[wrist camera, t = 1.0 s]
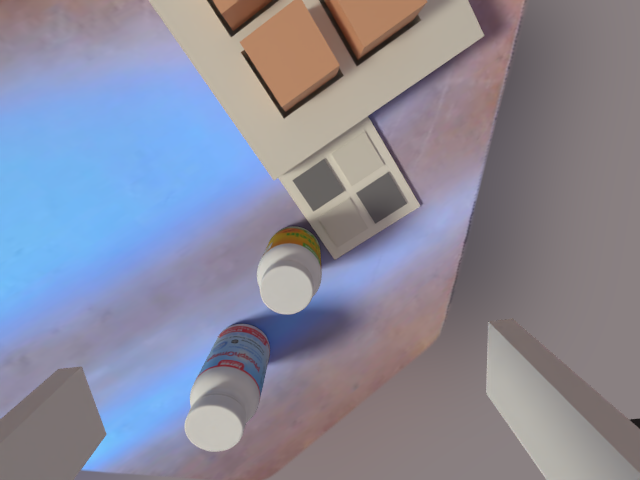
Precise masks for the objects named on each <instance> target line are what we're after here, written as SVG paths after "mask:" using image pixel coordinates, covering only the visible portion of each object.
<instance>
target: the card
mask: <svg viewBox="0 0 640 480" xmlns="http://www.w3.org/2000/svg"><path fill="white" fill-rule="evenodd" d="M278 178H279V180H280V181H281V183H282V184H283V186H284V187H285V188H286V190H287V191H288V193H289V194H290V196H291V197H292V199H293V200H294V201H295V203H296V204H297V206H298V207H299V209H300V210H301V212H302V213H303V215H304V216H305V217H306V219H307V220H308V222H309V223H310V225H311V226H312V228H313V229H314V230H315V232H316V233H317V235H318V236H319V238H320V239H321V241H322V242H323V244H324V245H325V246H326V248H327V249H328V251H329V252H330V254H331V255H332V257H333V258H334V259H337V258H339V257H340V256H342V255H343V254H345V253H347V252H348V251H350V250H351V249H353V248H355V247H356V246H358V245H359V244H361V243H363V242H364V241H366V240H367V239H369V238H370V237H372V236H374V235H375V234H377V233H378V232H380V231H382V230H383V229H385V228H386V227H388V226H390V225H391V224H393V223H394V222H396V221H398V220H399V219H401V218H402V217H404V216H406V215H407V214H409V213H410V212H412V211H414V210H415V209H417V208H418V207H420V205H419V203H418V201H417V199H416V198H415V196H414V194H413V193H412V191H411V189H410V187H409V186H408V184H407V182H406V180H405V179H404V177H403V175H402V174H401V172H400V170H399V168H398V167H397V165H396V163H395V162H394V160H393V158H392V156H391V155H390V153H389V151H388V150H387V148H386V146H385V144H384V143H383V141H382V139H381V138H380V136H379V134H378V132H377V131H376V129H375V127H374V126H373V124H372V122H371V120H370V119H369V117H368V116H367V117H366V118H364V119H363V120H361V121H360V122H358V123H357V124H355V125H354V126H353V127H351V128H350V129H348V130H347V131H345V132H344V133H342V134H341V135H339V136H338V137H337V138H335V139H334V140H332V141H331V142H329V143H328V144H326V145H325V146H323V147H322V148H321V149H319V150H318V151H316V152H315V153H313V154H312V155H310V156H309V157H307V158H306V159H305V160H303V161H302V162H300V163H299V164H297V165H296V166H294V167H293V168H291V169H290V170H289V171H287V172H286V173H284V174H283V175H281V176H280V177H278Z"/></svg>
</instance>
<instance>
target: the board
mask: <svg viewBox="0 0 640 480" xmlns="http://www.w3.org/2000/svg"><path fill="white" fill-rule="evenodd" d="M292 1H294V0H273V1H271V2H270V3H269V4H268V5H266V6H265V7H264V8H262V9H261V10H260V11H259V12H257V13H256V14H255V15H253V16H252V17H251V18H250V19H248V20H247V21H246V22H244V23H243V24H242V25H241V26H239V27H238V28H237V29H235V30H234V31H233V30H232V29H231V27H230V26H229V24H228V23H227V21H226V20H225V19H224V17H223V16H222V14H221V13H220V11H219V10H218V8H217V7H216V5H215V3H214V2H213V0H149V2H150V3H151V5H152V6H153V7H154V9H155V10H156V12H157V13H158V15H159V16H160V17H161V19H162V20H163V22H164V23H165V25H166V26H167V28H168V29H169V30H170V32H171V33H172V35H173V36H174V38H175V39H176V41H177V42H178V43H179V45H180V46H181V48H182V49H183V51H184V52H185V53H186V55H187V56H188V58H189V59H190V61H191V62H192V64H193V65H194V66H195V68H196V69H197V71H198V72H199V74H200V75H201V76H202V78H203V79H204V81H205V82H206V84H207V85H208V87H209V88H210V89H211V91H212V92H213V94H214V95H215V97H216V98H217V100H218V101H219V102H220V104H221V105H222V107H223V108H224V110H225V111H226V112H227V114H228V115H229V117H230V118H231V120H232V121H233V123H234V124H235V125H236V127H237V128H238V130H239V131H240V133H241V134H242V135H243V137H244V138H245V140H246V141H247V143H248V144H249V146H250V147H251V148H252V150H253V151H254V153H255V154H256V156H257V157H258V158H259V160H260V161H261V163H262V164H263V166H264V167H265V169H266V170H267V171H268V173H269V174H270V176H271V177H272V179H273V180H275V179H277V178H278V177H280V176H281V175H283V174H284V173H286V172H287V171H289V170H290V169H291V168H293V167H294V166H296V165H297V164H299V163H300V162H302V161H303V160H305V159H306V158H307V157H309V156H310V155H312V154H313V153H315V152H316V151H318V150H319V149H321V148H322V147H323V146H325V145H326V144H328V143H329V142H331V141H332V140H334V139H335V138H337V137H338V136H339V135H341V134H342V133H344V132H345V131H347V130H348V129H350V128H351V127H353V126H354V125H355V124H357V123H358V122H360V121H361V120H363V119H364V118H366V117H367V116H369V115H370V114H371V113H373V112H374V111H376V110H377V109H379V108H380V107H382V106H383V105H385V104H386V103H387V102H389V101H390V100H392V99H393V98H395V97H396V96H398V95H399V94H401V93H402V92H403V91H405V90H406V89H408V88H409V87H411V86H412V85H414V84H415V83H417V82H418V81H419V80H421V79H422V78H424V77H425V76H427V75H428V74H430V73H431V72H433V71H434V70H435V69H437V68H438V67H440V66H441V65H443V64H444V63H446V62H447V61H449V60H450V59H451V58H453V57H454V56H456V55H457V54H459V53H460V52H462V51H463V50H465V49H466V48H467V47H469V46H470V45H472V44H473V43H475V42H476V41H478V40H479V39H481V38H482V37H483V36H484V34H483V32H482V30H481V27H480V25H479V23H478V21H477V19H476V16H475V14H474V12H473V10H472V8H471V6H470V3H469V1H468V0H427V3H426V4H425V6H424V7H423V8H422V9H421V11H420V12H419V13H418V15H417V16H416V17H415V18H414V20H413V21H412V22H410V23H409V24H407V25H406V26H405V27H403V28H402V29H400V30H399V31H398V32H396V33H395V34H393V35H392V36H391V37H389V38H388V39H386V40H385V41H384V42H382V43H381V44H380V45H378V46H377V47H375V48H374V49H373V50H371V51H370V52H368V53H367V54H366V55H364V56H363V57H361V58H360V59H359V60H357V58H356V56H355V54H354V52H353V51H352V49H351V47H350V45H349V44H348V42H347V40H346V38H345V37H344V35H343V33H342V31H341V29H340V28H339V26H338V24H337V22H336V21H335V19H334V17H333V15H332V14H331V12H330V10H329V8H328V6H327V5H326V3H325V1H324V0H302V1H303V3H304V4H305V6H306V8H307V10H308V11H309V13H310V15H311V16H312V18H313V20H314V22H315V23H316V25H317V27H318V28H319V30H320V32H321V34H322V35H323V37H324V39H325V40H326V42H327V44H328V46H329V47H330V49H331V51H332V53H333V54H334V56H335V58H336V59H337V61H338V63H339V65H340V66H339V69H338V73H337V75H336V76H335V77H334V78H332V79H331V80H329V81H328V82H327V83H325V84H324V85H322V86H321V87H320V88H318V89H317V90H315V91H314V92H313V93H311V94H310V95H308V96H307V97H306V98H304V99H303V100H302V101H300V102H299V103H297V104H296V105H295V106H293V107H292V108H290V109H289V110H288V111H286V112H285V111H284V109H283V108H282V107H281V105H280V104H279V102H278V101H277V99H276V98H275V96H274V95H273V93H272V91H271V90H270V88H269V87H268V85H267V84H266V82H265V81H264V79H263V78H262V76H261V74H260V73H259V71H258V70H257V68H256V67H255V65H254V64H253V62H252V61H251V59H250V58H249V56H248V54H247V53H246V51H245V50H244V48H243V47H242V45H241V44H240V41H242V40H243V39H244V38H246V37H247V36H248V35H249V34H251V33H252V32H253V31H255V30H256V29H257V28H258V27H260V26H261V25H262V24H264V23H265V22H266V21H268V20H269V19H270V18H271V17H273V16H274V15H275V14H277V13H278V12H279V11H281V10H282V9H283V8H284V7H286V6H287V5H288V4H290V3H291V2H292Z"/></svg>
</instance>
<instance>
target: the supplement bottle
mask: <svg viewBox="0 0 640 480" xmlns="http://www.w3.org/2000/svg"><path fill="white" fill-rule="evenodd" d="M321 275H322V272H321V253H320V246H319V243H318V241H317V239H316V238H315V236H314V235H313V234H312V233H311V232H309V231H308V230H306V229H304V228H301V227H286V228H283V229H281V230H279V231H278V232H277V233H276V234H275V235H274V236H273V237H272V238H271V240H270V242H269V244H268V246H267V248H266V250H265V252H264V254H263V256H262V258H261V260H260V263H259V266H258V269H257V281H258V285H259V287H260V294H261V297H262V300H263V302H264V303H265V305H266V306H267V307H268V308H270V309H271V310H273V311H274V312H277V313H280V314H294V313H297V312H300V311H301V310H303V309H304V308H305V307H306V306H307V305H308V304H309V303H310V301H311V299H312V297H313V296H314V295H315V293H316V292H317V290H318V288H319V286H320V283H321Z"/></svg>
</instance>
